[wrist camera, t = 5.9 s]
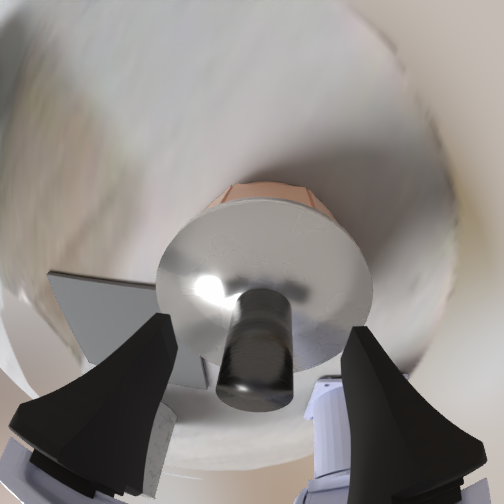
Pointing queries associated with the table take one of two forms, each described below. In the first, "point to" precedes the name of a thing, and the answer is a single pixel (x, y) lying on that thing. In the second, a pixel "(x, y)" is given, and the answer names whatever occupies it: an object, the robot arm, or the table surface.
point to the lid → (263, 294)
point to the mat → (116, 320)
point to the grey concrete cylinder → (158, 449)
